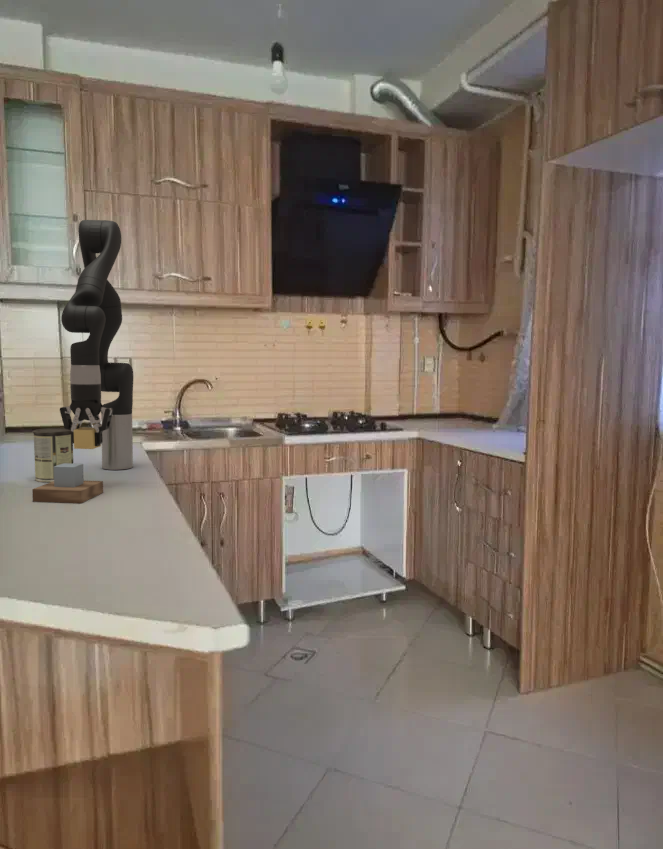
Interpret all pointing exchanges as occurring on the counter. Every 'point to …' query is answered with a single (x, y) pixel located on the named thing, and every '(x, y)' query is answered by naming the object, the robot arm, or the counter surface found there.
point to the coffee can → (51, 451)
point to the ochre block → (84, 438)
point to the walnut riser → (67, 492)
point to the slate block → (68, 475)
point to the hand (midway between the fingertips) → (87, 445)
